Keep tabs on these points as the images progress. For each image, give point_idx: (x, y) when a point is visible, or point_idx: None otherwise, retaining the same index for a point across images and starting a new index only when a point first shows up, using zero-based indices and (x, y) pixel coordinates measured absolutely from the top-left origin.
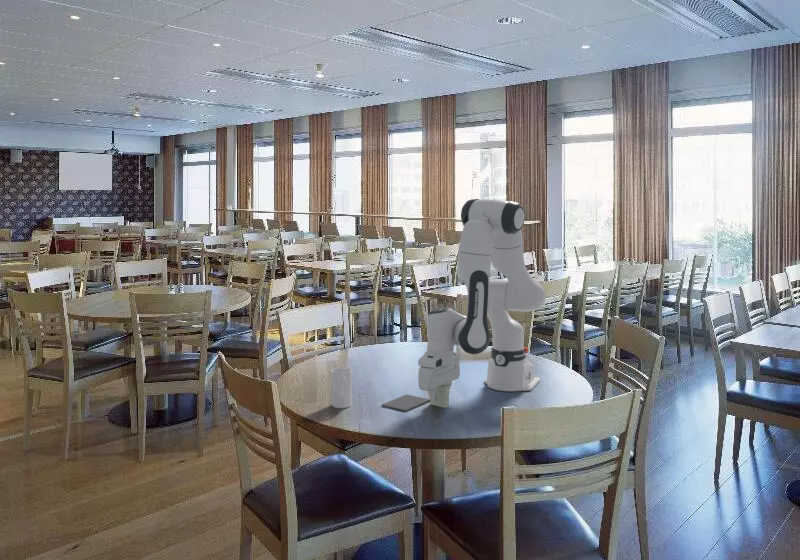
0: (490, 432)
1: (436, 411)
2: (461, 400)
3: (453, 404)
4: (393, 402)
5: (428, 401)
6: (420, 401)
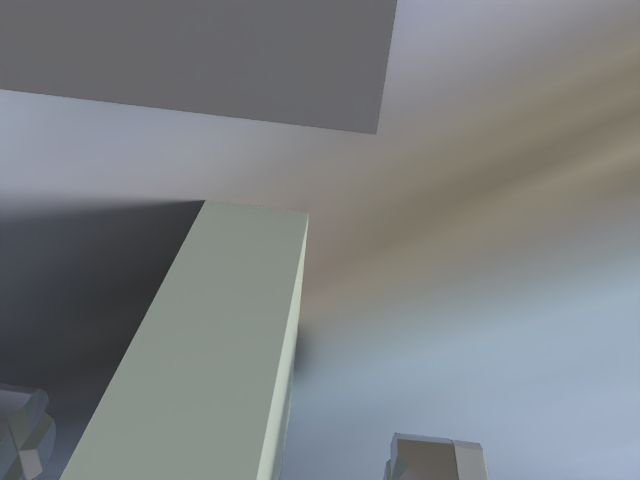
0: None
1: (15, 372)
2: (606, 463)
3: (391, 438)
4: None
5: (312, 115)
6: (138, 13)
